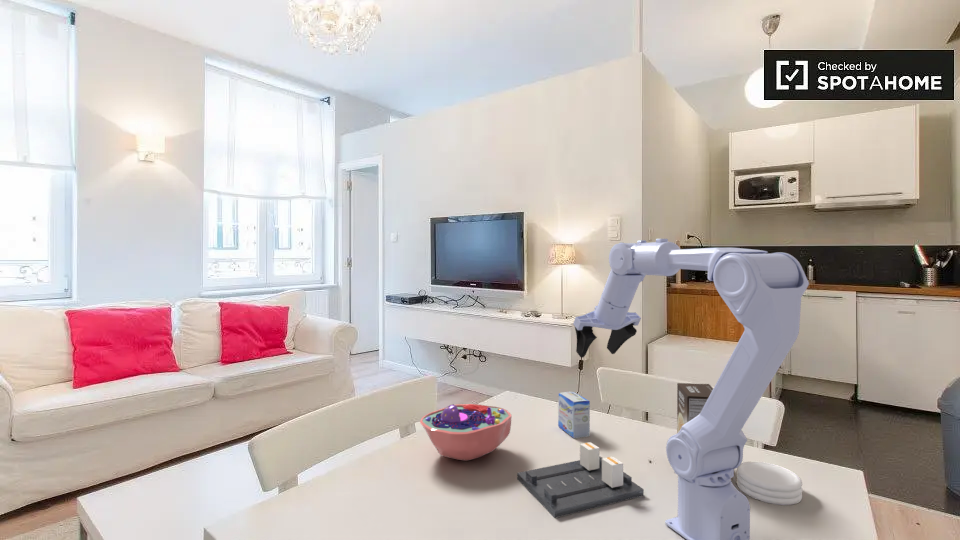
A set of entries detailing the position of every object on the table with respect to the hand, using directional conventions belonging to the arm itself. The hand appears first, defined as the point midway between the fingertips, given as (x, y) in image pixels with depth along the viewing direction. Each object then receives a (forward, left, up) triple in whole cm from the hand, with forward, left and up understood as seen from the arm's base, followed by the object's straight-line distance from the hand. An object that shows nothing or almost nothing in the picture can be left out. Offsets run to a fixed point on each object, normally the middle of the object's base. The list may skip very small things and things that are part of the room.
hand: (595, 352), depth 95 cm
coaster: (-23, -21, -23) cm, 38 cm away
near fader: (-12, +5, -21) cm, 25 cm away
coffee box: (-12, -16, -23) cm, 30 cm away
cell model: (+12, +24, -23) cm, 35 cm away
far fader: (-5, +5, -21) cm, 22 cm away
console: (-9, +10, -22) cm, 26 cm away
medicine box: (+14, -4, -23) cm, 27 cm away
